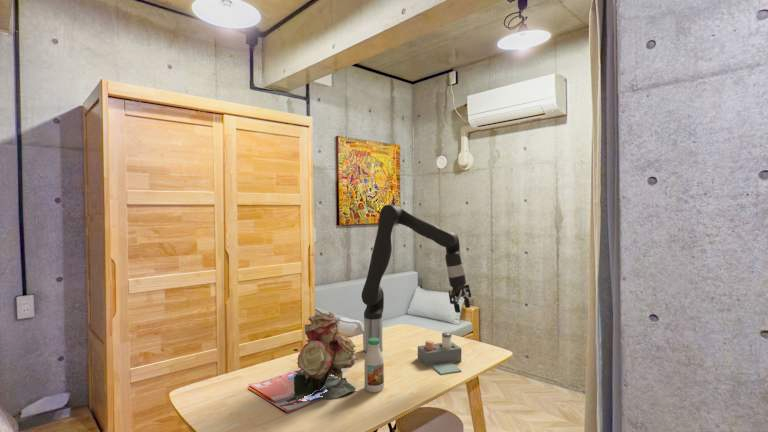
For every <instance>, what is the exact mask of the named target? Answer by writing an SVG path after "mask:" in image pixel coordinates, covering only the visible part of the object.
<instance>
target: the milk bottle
mask: <svg viewBox="0 0 768 432" xmlns="http://www.w3.org/2000/svg"><path fill="white" fill-rule="evenodd" d="M379 343H380V341H379V339H378V338H370V339H368V345H369V348H368V351H367V354H366V353H365V357H364V389H365V390H366V392H369V393H379V392H382V391H384V388H385V381H384V379H385V378H384V377H385V375H384V374H385V373H384V372H385V369H384V364H385V363H384V357H383V353H382V352H381V351H380V349H379V345H380V344H379Z"/></svg>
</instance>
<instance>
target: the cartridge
mask: <svg viewBox="0 0 768 432" xmlns="http://www.w3.org/2000/svg"><path fill="white" fill-rule="evenodd" d="M452 334H453V333H451V332H448V331H447V332H445V331H444V332H441V343H442V348H443V349H450V348H452V347H451V342H452V337H453V336H452Z"/></svg>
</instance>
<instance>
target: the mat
mask: <svg viewBox="0 0 768 432" xmlns="http://www.w3.org/2000/svg"><path fill="white" fill-rule="evenodd" d="M431 368H432V369H434V371H436V372H437V373H438V374H439V375H440V376H443V375H448V374H454V373H455V374H456V373H461V372H462V369H461V368H459V367H458V366H457V365H456V364H454V362H452V363H445V364H439V365H432V366H431Z"/></svg>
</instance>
